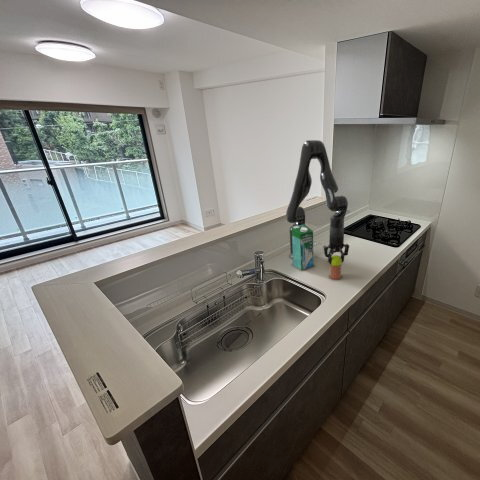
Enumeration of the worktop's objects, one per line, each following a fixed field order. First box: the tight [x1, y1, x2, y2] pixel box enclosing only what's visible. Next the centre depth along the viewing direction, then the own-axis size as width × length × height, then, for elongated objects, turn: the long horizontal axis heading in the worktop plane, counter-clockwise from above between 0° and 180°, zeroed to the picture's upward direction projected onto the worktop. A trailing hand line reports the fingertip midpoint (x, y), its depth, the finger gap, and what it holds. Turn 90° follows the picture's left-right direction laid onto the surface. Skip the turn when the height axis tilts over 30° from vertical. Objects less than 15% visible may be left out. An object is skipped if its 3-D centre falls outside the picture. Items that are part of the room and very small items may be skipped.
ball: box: [330, 254, 342, 266], centre depth 142 cm, size 6×6×6 cm
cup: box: [329, 264, 342, 280], centre depth 144 cm, size 6×6×8 cm
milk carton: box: [292, 223, 314, 271], centre depth 155 cm, size 9×9×25 cm
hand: (335, 262), depth 142 cm, fingers closed on ball, 6 cm apart
